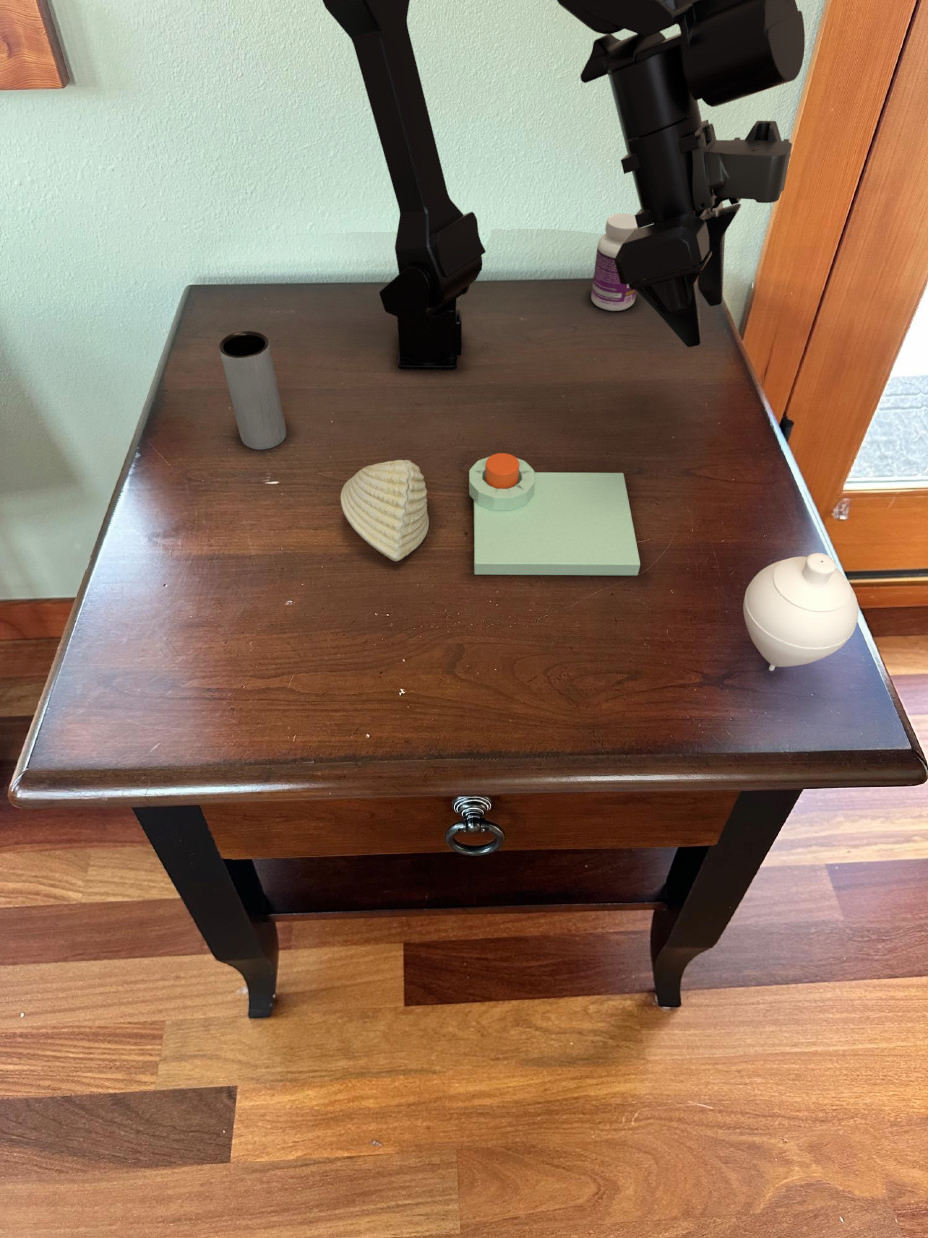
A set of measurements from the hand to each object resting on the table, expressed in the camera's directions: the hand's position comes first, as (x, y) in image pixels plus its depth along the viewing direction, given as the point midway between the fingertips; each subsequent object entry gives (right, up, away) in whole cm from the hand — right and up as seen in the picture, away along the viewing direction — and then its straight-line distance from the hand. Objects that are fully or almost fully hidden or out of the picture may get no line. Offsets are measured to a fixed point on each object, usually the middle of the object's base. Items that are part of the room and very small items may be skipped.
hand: (705, 323), depth 71 cm
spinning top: (+3, -29, -6) cm, 30 cm away
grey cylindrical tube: (-41, -7, +13) cm, 43 cm away
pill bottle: (-3, +13, +30) cm, 33 cm away
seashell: (-28, -17, +4) cm, 33 cm away
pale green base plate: (-13, -17, +4) cm, 21 cm away
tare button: (-17, -12, +5) cm, 22 cm away
